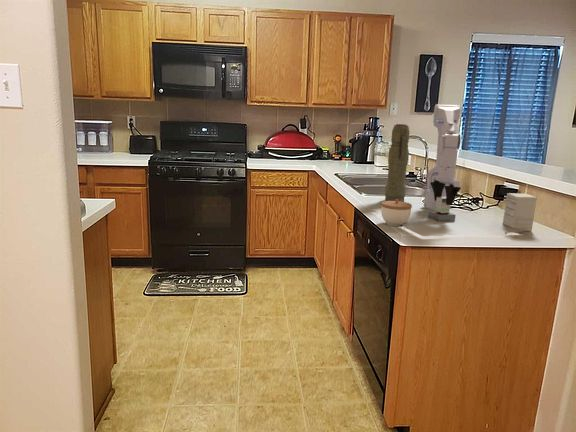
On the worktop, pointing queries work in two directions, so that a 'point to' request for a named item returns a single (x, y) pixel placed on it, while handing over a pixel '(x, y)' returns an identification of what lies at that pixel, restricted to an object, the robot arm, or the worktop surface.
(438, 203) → the column
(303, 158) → the worktop surface
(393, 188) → the potted cactus
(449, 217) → the stand base
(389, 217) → the lidded jar
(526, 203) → the supplement box
